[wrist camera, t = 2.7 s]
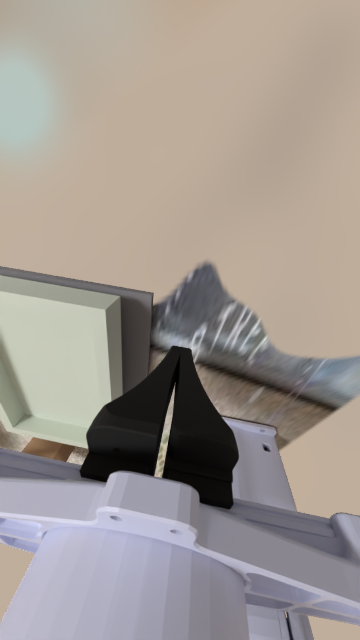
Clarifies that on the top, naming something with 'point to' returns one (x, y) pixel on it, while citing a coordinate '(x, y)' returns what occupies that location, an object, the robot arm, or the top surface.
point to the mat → (132, 320)
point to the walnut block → (49, 449)
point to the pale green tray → (57, 358)
